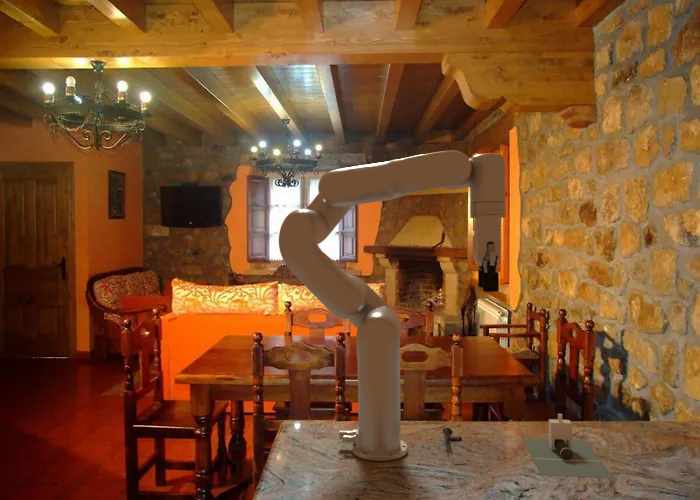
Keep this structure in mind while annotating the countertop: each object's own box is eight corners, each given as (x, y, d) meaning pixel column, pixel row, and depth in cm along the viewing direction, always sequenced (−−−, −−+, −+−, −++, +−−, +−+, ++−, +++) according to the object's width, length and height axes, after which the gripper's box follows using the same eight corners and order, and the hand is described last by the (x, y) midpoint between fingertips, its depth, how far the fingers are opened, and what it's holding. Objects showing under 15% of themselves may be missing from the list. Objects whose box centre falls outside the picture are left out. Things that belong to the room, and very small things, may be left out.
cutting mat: (540, 478, 111) (540, 474, 111) (522, 441, 131) (522, 438, 131) (614, 482, 110) (614, 477, 110) (585, 444, 130) (585, 440, 130)
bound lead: (560, 460, 119) (560, 448, 119) (550, 442, 129) (550, 432, 129) (573, 460, 118) (573, 449, 118) (561, 443, 128) (561, 432, 128)
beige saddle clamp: (551, 449, 124) (551, 415, 123) (548, 445, 126) (548, 412, 126) (571, 450, 123) (571, 416, 123) (568, 446, 125) (569, 412, 125)
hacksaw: (442, 432, 140) (442, 426, 140) (484, 433, 138) (484, 427, 138) (449, 473, 116) (449, 465, 116) (500, 474, 115) (500, 467, 114)
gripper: (467, 212, 131) (467, 285, 132) (473, 209, 114) (474, 293, 115) (499, 212, 130) (500, 285, 131) (511, 209, 113) (511, 293, 114)
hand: (488, 289), depth 123 cm, fingers open, 9 cm apart
